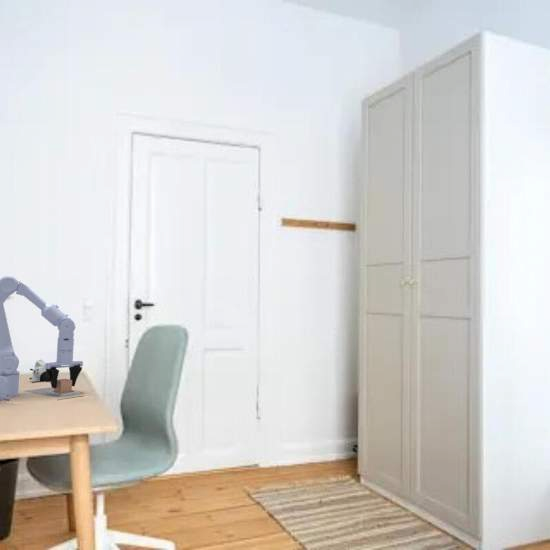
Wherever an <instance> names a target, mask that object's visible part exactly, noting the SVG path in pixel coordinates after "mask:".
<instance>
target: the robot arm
mask: <svg viewBox="0 0 550 550" xmlns="http://www.w3.org/2000/svg"><path fill="white" fill-rule="evenodd" d="M15 292H16V293H15ZM14 293H15V294H16V295H19V296H23V297H24V298H25V299H27V300H28V301H30V302H31V303H32V305H35V306H36V308H38V309H39V310H41V313H40V314H41V316H42V318H44V319H45V320H47V321H48V323H50V324H51V325H53V326H54V327H57V330H58V336H57V337H58V338H57V346H56V347H57V349H56V361H54V362H45V368H46V372H47V373H48V375H49V378H50V381H51V382H50V387H51V388H56V387H57V380H58V377H59V373H60V369H61V368H68V369H69V370H68V371H69V380H72V387H75V385H76V383H77V380H78V377H79V376H80V373H81V372H82V371H83V365H84V361H83V360H73V359H74V346H75V343H74V342H75V338H74V337H75V329H76V324H75V322H74V320H72V319H71V318H70V317H69V315H68V314H66V313H64V312H63V311H61V310H60V309H59V306H58V305H57V304H54V303H47V302H46V301H44V300H43V299H42V298H41V297H40V296H39V295H38V294H37V293H36V292H35V291H33V290H32V289H31V288H30V287H29V286H28V285H27V284H24V283H23V282H21V280H20V281H19V280H17V278H15V277H14V276H12V275H4V276H2V277H1V278H0V401H1V402H2V401H3V402H4V401H5V402H9V401H11V399H8V398H12V397H17V396H19V386H20V371H19V370H18V368H19V364H20V360H19V357H18V356H17V355H16V353H15V350H14V347H13V343H12V338H11V332H10V328H9V324H8V319H7V315H6V311H5V306H4V304H5V302H6V301H7V300H8V298H9V296H11V295H13V294H14ZM59 368H60V369H59Z"/></svg>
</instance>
